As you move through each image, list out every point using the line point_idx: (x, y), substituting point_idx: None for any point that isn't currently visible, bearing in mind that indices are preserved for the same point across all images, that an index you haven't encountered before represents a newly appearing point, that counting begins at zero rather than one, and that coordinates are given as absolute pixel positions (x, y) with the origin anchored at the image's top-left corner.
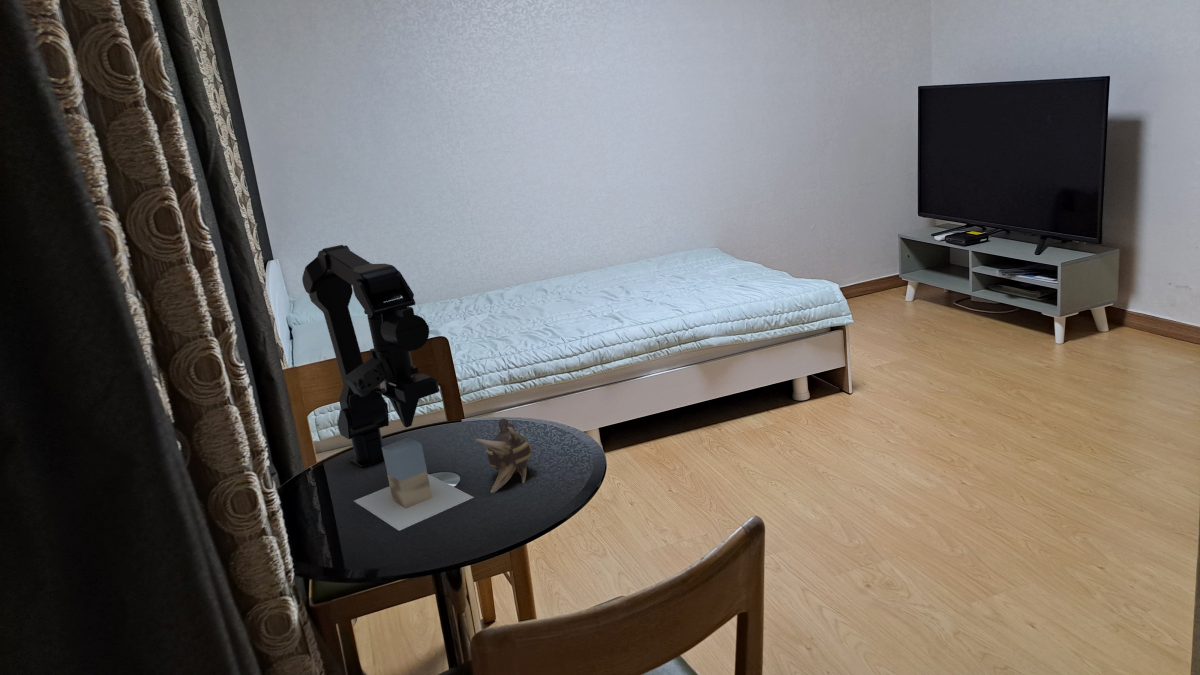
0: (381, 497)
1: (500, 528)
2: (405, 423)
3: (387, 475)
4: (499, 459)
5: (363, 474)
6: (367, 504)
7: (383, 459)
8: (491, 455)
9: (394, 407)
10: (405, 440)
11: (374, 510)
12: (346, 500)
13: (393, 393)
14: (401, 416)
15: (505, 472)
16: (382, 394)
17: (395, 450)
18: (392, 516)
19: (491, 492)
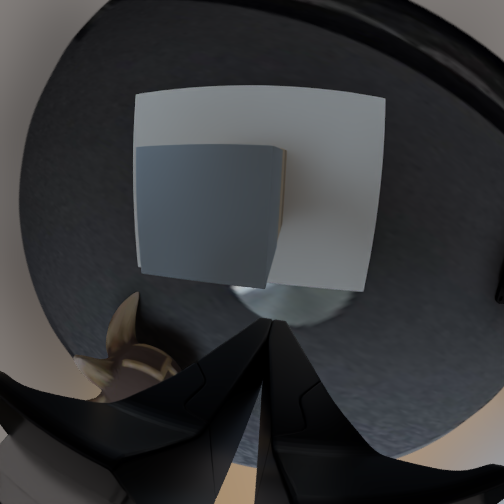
0: (336, 145)
1: (42, 223)
2: (246, 328)
3: (282, 148)
4: (115, 354)
5: (494, 214)
6: (331, 103)
7: (501, 280)
8: (127, 358)
9: (313, 392)
10: (239, 261)
11: (279, 95)
12: (414, 101)
13: (110, 496)
14: (245, 349)
15: (108, 334)
16: (332, 496)
17: (166, 167)
18: (205, 108)
19: (132, 295)
